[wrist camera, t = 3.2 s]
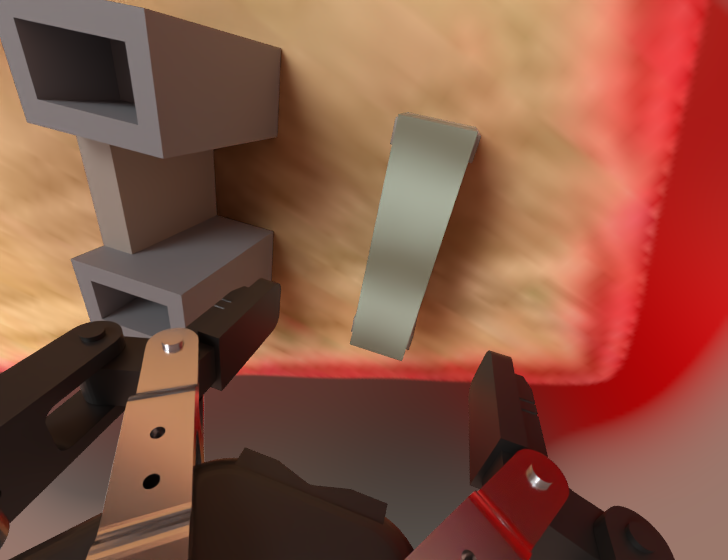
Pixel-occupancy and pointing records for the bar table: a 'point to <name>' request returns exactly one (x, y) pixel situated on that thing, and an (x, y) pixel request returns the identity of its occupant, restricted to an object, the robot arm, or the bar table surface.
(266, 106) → the grey hollow block
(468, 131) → the rail
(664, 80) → the bar table surface
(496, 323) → the bar table surface
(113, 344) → the robot arm
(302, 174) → the bar table surface
